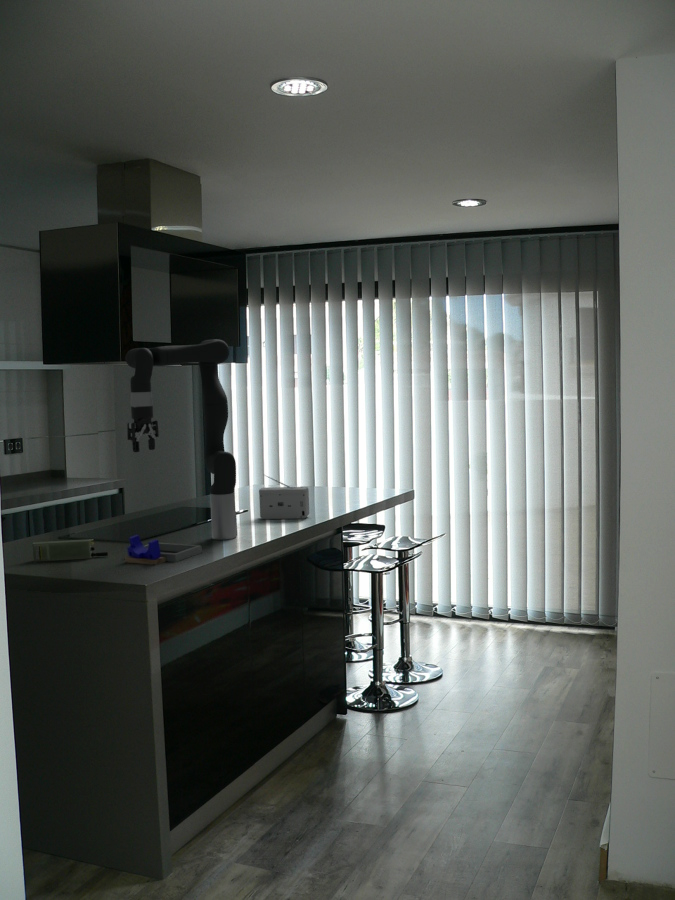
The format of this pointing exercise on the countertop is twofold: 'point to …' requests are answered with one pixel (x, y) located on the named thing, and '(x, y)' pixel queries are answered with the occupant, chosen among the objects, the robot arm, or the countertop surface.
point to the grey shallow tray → (182, 550)
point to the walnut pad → (144, 560)
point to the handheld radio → (64, 550)
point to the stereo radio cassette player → (284, 502)
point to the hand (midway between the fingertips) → (144, 451)
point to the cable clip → (143, 549)
